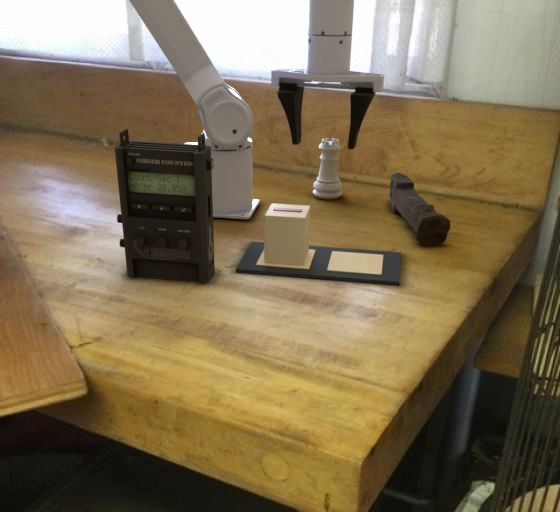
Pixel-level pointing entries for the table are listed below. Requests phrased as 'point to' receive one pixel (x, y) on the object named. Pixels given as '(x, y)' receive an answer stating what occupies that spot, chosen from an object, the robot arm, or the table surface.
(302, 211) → the slotted ballot box
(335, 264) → the word mat
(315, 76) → the robot arm
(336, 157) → the rook chess piece
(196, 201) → the geiger counter
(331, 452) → the table surface
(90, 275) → the table surface
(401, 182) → the hand tool
